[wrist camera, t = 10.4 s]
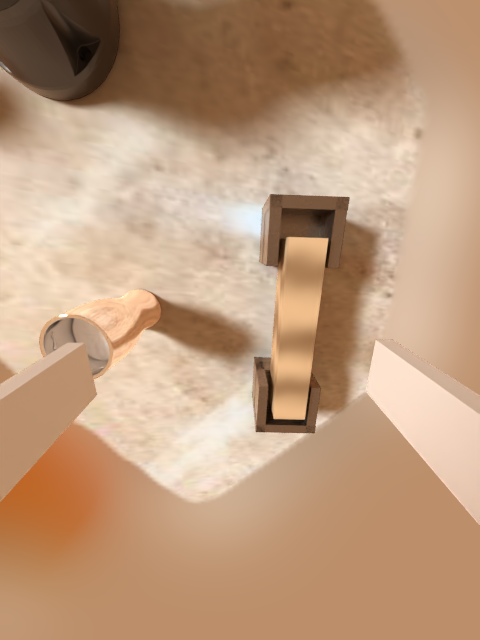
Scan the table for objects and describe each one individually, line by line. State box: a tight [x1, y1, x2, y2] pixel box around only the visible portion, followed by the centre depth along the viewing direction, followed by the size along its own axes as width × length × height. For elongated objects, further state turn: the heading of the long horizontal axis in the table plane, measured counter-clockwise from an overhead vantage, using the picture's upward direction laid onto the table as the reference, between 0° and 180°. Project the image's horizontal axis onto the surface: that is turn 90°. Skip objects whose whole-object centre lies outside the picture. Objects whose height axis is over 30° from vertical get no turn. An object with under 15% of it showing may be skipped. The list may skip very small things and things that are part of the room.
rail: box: [269, 237, 328, 420], centre depth 30 cm, size 22×4×6 cm, turn 178°
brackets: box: [252, 194, 350, 433], centre depth 32 cm, size 29×8×8 cm, turn 178°
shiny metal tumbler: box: [39, 289, 161, 379], centre depth 29 cm, size 7×7×15 cm
